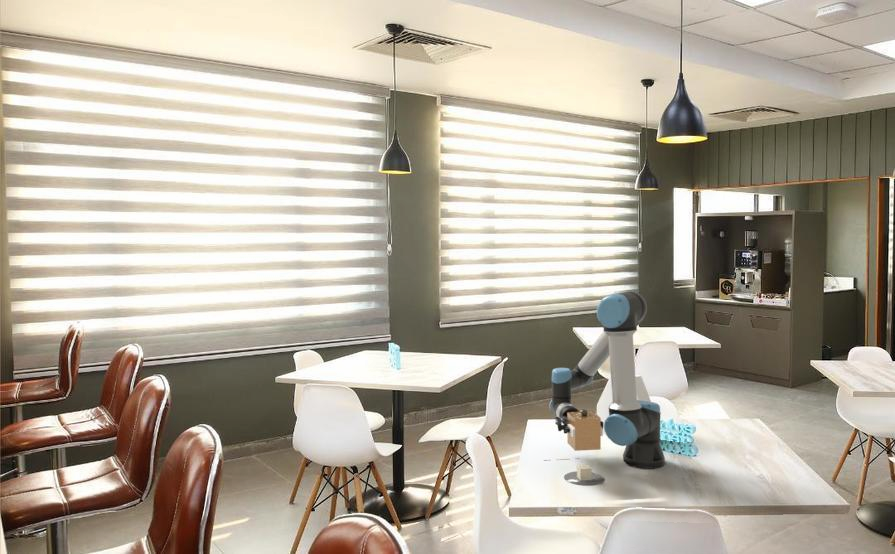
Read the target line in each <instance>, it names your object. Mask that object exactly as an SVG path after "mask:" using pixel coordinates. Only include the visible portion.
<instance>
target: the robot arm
mask: <svg viewBox="0 0 895 554" xmlns="http://www.w3.org/2000/svg"><path fill="white" fill-rule="evenodd" d="M647 311H648V305H647V301H646V299H645V298H644V297H643V296H642V295H641V294H639V293H638V292H636V291H635V292H634V291H625V292H619V293H611V294H609V295H606V296H605V297H603V298H602V299H601V300H600V301H599V303H598V305H597V307H596V317H597V319H598V322H600V324H601V325H602V326H603V331H602V333H601V334H600V335H599V336H598V338H597V339H596V340H595V341H594V343H593V344H592V346H591V347H590V348H589V349H588V351H587V352H586V353H585V355H584V356H583V357H581V359H580V360H579V362H578V364H577V365H576V366H575V367H574V368H573V369H572V370H571V369H570V368H568V367H556V368H553V369H552V371H551V379H550V380H551V400H550V401H549V406H548V407H549V410H550V412H551V414H552V415H553V416H554V419H555V421H554V422H555V425H556V426H557V431H558V432H562V431H563V434H564V435H565V434H567V433H569V434H570V435H571V436H572V437H575V429H574V428H573V427H572V426H571V425H570V424H568V423H567V412H580V411H579V409H578V408H577V407H575V406H574V405H573V404H572V391H574V390H578V389H581V388H585V387H587V386H589V385H591V384H592V382H593V381H594V375H596V373H597V372H598V370H599V369H601V367H602V365H603V364H604V363H605V362H606V361H607V359H608V358H609V365H610V366H609V369H610V378H611V386H612V403H611V404H610V405H609V416H608V417H607V419H606V420H605V423H604V430H605V433H606V435H605V436H607V438H608V439H609V440H610V441H611V442H612V443H613V444H615V445H618V446H621V447H625V448H624V450H623V451H624V452H623V455H622V461H623V463H625V464H626V465H627V466H631V467H634V468H640V469H658V468H659V469H660V468H661V467H664V466H665V465H666V459H665V454H664V452H663V448H662V445H661V415H662V413H661V406H660V405H659V403H657V402H654V401H651V402H649V401H641V400H637V395H636V379H635V375H636V366H635V364H636V363H635V349H634V335H635V333H636V332H637V331H638V326H639V325H640V324H641V322H642V321H643V320H644V318H645V317H646V315H647ZM603 435H604V434H603V422H602V421H601V437H603Z"/></svg>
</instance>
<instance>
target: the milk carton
mask: <svg viewBox="0 0 895 554" xmlns="http://www.w3.org/2000/svg"><path fill="white" fill-rule="evenodd" d="M635 379H636V395H637V400H641V401H649V402H652V401H651V399H650V396H649V392H648V390H647V388H646V386H645V382H644V379H643V376H642V375H639V374H638V375H636V374H635ZM611 403H612V386H611V377H610V378H608V381H607V382H606V385H605V387H604V389H603V391H602V393H601V395H600V397H599V400H598V401H597V404H596V415H598V416H599V417H600V418H601V421H602V422H603V435H605V436H607V435H606V433H605V430H604V423H605V420H606V419H607V417H608V416H609V405H610V404H611Z"/></svg>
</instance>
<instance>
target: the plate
mask: <svg viewBox="0 0 895 554" xmlns="http://www.w3.org/2000/svg"><path fill="white" fill-rule="evenodd" d="M563 479H564V480H565V481H566V482H567V483H570V484H572V485H577V486H583V487H584V486H585V487H589V486H590V487H593V486H597V485H602V484H603V483H604V482H605V480H606V478H605V477H604V476H603V475H601V474H599V473H597V472H593V471H592V480H581V481H580V479H579V478H578V477H577V470H575V471H571V472H568V473H566V474H564V475H563Z"/></svg>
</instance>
